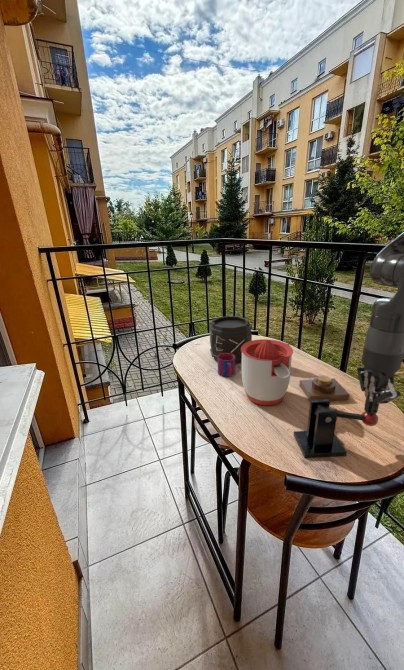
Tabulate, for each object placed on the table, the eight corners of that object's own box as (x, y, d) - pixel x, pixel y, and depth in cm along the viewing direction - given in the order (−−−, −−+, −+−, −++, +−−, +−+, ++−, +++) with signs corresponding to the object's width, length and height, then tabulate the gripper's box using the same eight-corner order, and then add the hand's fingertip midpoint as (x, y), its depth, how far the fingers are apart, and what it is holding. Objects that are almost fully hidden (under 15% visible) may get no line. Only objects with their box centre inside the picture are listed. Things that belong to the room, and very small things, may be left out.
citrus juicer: (260, 419, 81) (262, 356, 74) (232, 389, 96) (231, 335, 89) (303, 405, 86) (309, 345, 79) (270, 379, 101) (273, 327, 94)
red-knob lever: (369, 420, 70) (374, 408, 69) (378, 430, 67) (384, 418, 66) (312, 412, 69) (316, 400, 68) (318, 422, 66) (323, 409, 65)
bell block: (333, 383, 97) (335, 373, 95) (348, 400, 88) (350, 389, 86) (299, 385, 97) (300, 375, 95) (310, 402, 87) (311, 391, 86)
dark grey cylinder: (200, 356, 122) (198, 322, 116) (228, 344, 133) (228, 312, 127) (231, 370, 109) (231, 332, 103) (259, 355, 120) (260, 321, 114)
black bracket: (330, 433, 74) (336, 395, 70) (346, 456, 67) (353, 415, 63) (293, 435, 74) (297, 397, 70) (304, 458, 67) (309, 417, 63)
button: (327, 379, 93) (328, 375, 92) (332, 386, 89) (333, 381, 88) (315, 380, 93) (315, 375, 92) (320, 386, 89) (321, 381, 88)
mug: (234, 368, 111) (234, 352, 108) (237, 381, 101) (237, 364, 99) (217, 369, 111) (216, 353, 108) (219, 382, 101) (218, 365, 99)
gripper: (424, 358, 55) (404, 430, 61) (382, 334, 67) (369, 396, 74) (386, 360, 55) (370, 431, 61) (351, 336, 67) (341, 397, 74)
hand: (370, 412), depth 67 cm, fingers closed
